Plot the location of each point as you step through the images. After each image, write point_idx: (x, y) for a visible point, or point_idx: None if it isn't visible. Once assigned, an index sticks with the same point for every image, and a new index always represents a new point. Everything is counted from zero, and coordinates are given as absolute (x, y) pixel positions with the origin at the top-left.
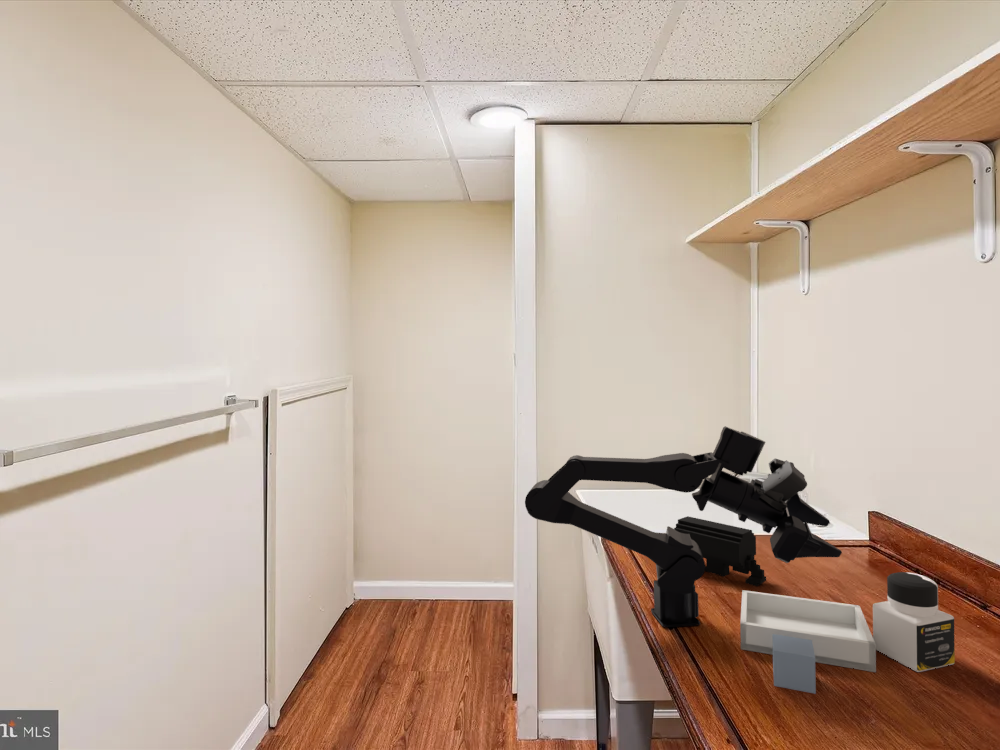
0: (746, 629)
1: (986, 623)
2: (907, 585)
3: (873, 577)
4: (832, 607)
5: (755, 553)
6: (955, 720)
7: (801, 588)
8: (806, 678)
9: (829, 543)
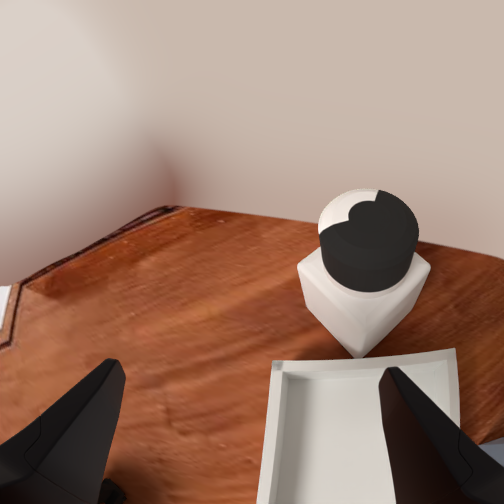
0: None
1: (212, 213)
2: (415, 234)
3: (84, 303)
4: (280, 414)
5: None
6: (499, 283)
7: (121, 425)
8: None
9: (414, 409)
